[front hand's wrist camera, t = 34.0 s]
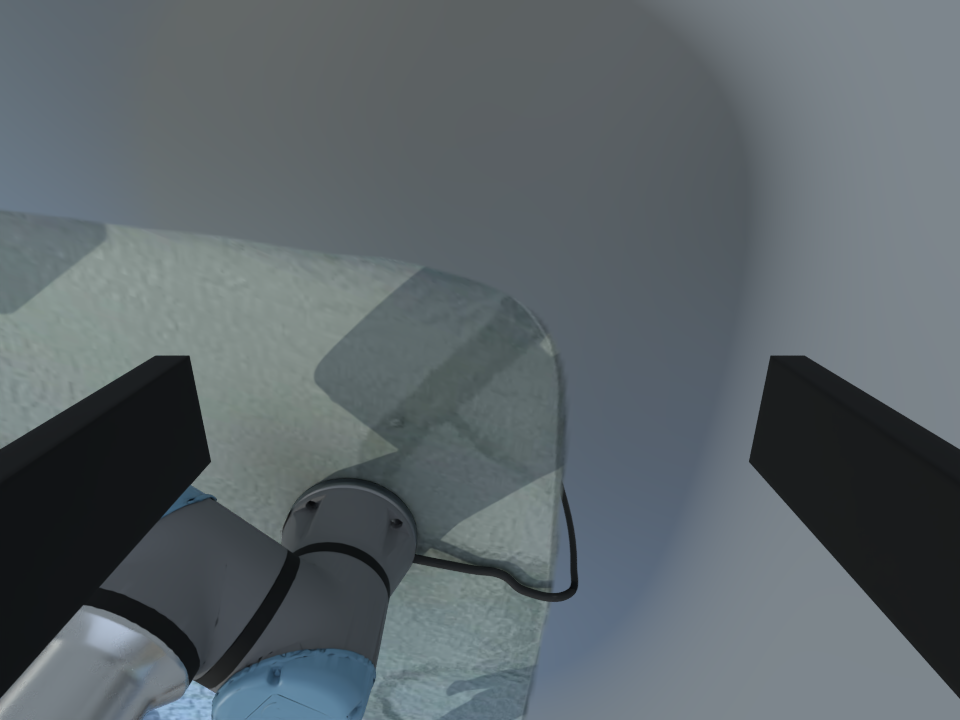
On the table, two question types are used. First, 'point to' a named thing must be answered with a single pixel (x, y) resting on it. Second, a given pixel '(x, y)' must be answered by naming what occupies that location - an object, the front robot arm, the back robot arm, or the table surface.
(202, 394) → the table surface
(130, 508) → the front robot arm
